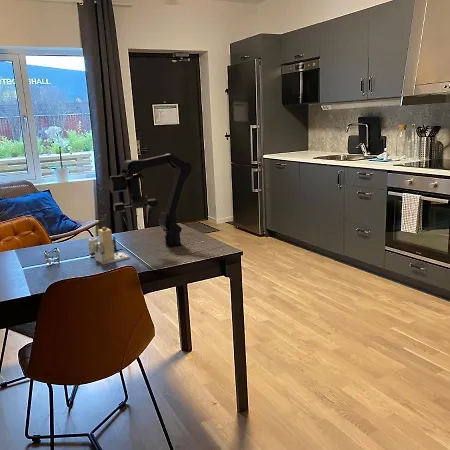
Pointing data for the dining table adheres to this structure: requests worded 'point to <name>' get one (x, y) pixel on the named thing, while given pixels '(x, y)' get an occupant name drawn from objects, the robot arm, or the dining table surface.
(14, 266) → the dining table surface
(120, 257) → the fixed leaf
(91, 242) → the valve
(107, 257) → the loose leaf
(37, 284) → the dining table surface
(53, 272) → the dining table surface
